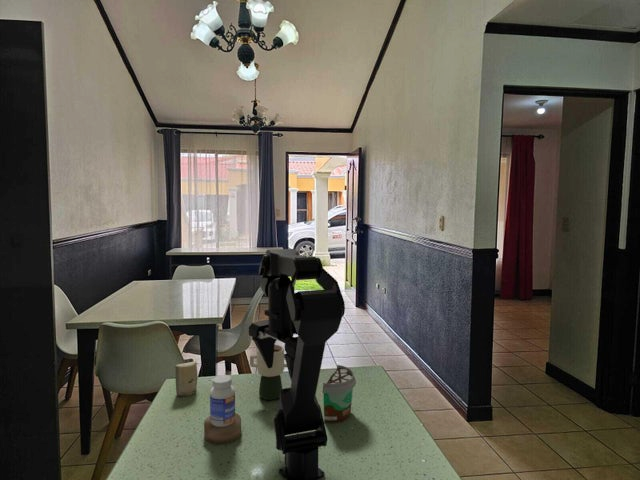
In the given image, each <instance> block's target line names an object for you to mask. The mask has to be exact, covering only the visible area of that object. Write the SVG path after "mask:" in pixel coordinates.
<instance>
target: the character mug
mask: <svg viewBox="0 0 640 480" xmlns="http://www.w3.org/2000/svg"><path fill="white" fill-rule="evenodd" d="M256 348H257V347H256ZM284 354H285V346H283V345H280V344H277V343H275V344H274V358H273V366H272V368H267V365H266V363H265V361H264V359H263V357H262V355H261V353H260V351H259V350H258V348H257V349H256V354H251V355H249V366H250V367H251V368H257V369H256V370H257V374H259V375H260V380H259V381H260V382H259V387H258V388H259V390H258V395H259V397H261V398H262V399H265V400H270V401H271V400H272V401H273V400H275V399H279V398H280V392H281V391H282V389H283V383H282V378H281V375H282V374H283V372H284V370H285V368H287V364H286V363H285V356H284ZM255 359H256V363H254V361H255Z"/></svg>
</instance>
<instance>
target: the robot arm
mask: <svg viewBox="0 0 640 480" xmlns="http://www.w3.org/2000/svg"><path fill="white" fill-rule="evenodd" d="M259 263H260V264H259V268H258V275H259V276H260V278H261V279H260V282H259V287H260V290H261V291H262V293H263V294H264V295H265V296H266V297H267V299H268V300H267V303H268V306H267V307H268V309H265V310H264V314H263V315H265V316H267V317H268V319H264V320H261V321H260V320H259V321H255V322H252V323H251V324H250V325H249V327H248V336H250V337H251V340H252V341H253V343H254V344H255V346H256V348H258V350H259V351H260V353H261V355H262V357H263V359H264V361H265V363H266V365H267V368H272V366H273V358H274V344H276V342H277V341H279V342H281V343H283V344H284V352H285V353H284V356H285V359H284V361H285V364H287V367H286V368H287V371H288V375H289V378H290V381H291V382H290V383H291V384H290V387H285V388H282V391H281V392H280V397H279V401H278V407H277V408H278V409H276V410H275V415H274V417H273V425H274V427H273V428H274V434H275V449H276V450H278V451H281V453H282V455H284V467H281V468H279V469H278V474H279V475H280V476H281V477H282V478H284V479H285V480H319V479H321V478H323V477H325V473H326V472H325V471H324V470H322V469H321V468H320V467H319V448H321V447H327V444H328V434H327V430H326V424H325V423H324V415H323V411H322V407H321V405H320V403H319V400H318V399H317V395H316V394H317V389H318V384H319V379H320V373H321V369H322V363H323V359H324V353H325V348H326V345H327V344H326V342H327V341H328V340H329V339H331V338H332V337H333V336H334V335H335V334H336V333H337V332H338V330H339V328H340V325H341V322H342V319H343V317H344V315H345V311H346V306H345V305H346V304H345V300H344V296H343V294H342V291H341V288H340V285H339V283H338V281H337V280H336V278H334V277H333V276H332V275H331V274H330V273H329V272H328V271H327V270H326V269H325V268H324V266H323V263H322V260H321V258H319V257H316V256H304V255H300V253H299V251H298V250H296V249H295V248H281V249H280V248H278V249H267V250H266V251H265V254H263V255H262V259H261V260H260V262H259ZM303 280H315V281H316V283H317V284H318V285H319V286H320V287H321V288H322V289H316V290H315V289H313V290H299V291H297V292H295V285H296V283H297V281H303ZM294 335H297V336H294Z"/></svg>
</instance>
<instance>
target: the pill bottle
mask: <svg viewBox="0 0 640 480" xmlns="http://www.w3.org/2000/svg"><path fill="white" fill-rule="evenodd" d="M232 383H233V381H232V376H230V375H227V374H224V375H223V374H222V375H217V376H215V377H214V378H213V379H212V388H211V389H210V390H209V416H210V421H211V424H212V425H214V426H216V427H225V426H228V425H231V424H232V423H233V422H234V421H235V413H236V389H235V387H234V386H233V385H232Z"/></svg>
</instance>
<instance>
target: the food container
mask: <svg viewBox="0 0 640 480" xmlns="http://www.w3.org/2000/svg"><path fill="white" fill-rule="evenodd" d="M356 380H357V379H356V376H355V374H354V372H353V370H352V369H351V368H350V367H347V366H344V365H340V364H336V369H335V371H334V372H333V373H332V374H331V376H330V377H329V378H328V381H327V382H325V383H324V382H323V383H322V393H323V420H324V424H325V423H327V424H337V423H339V424H340V423H342V422H344V421H347V420H348V419H350V417H351V411H352V399H353V391H354V390H353V389H354V388H355V386H356V384H357V381H356Z"/></svg>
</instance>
